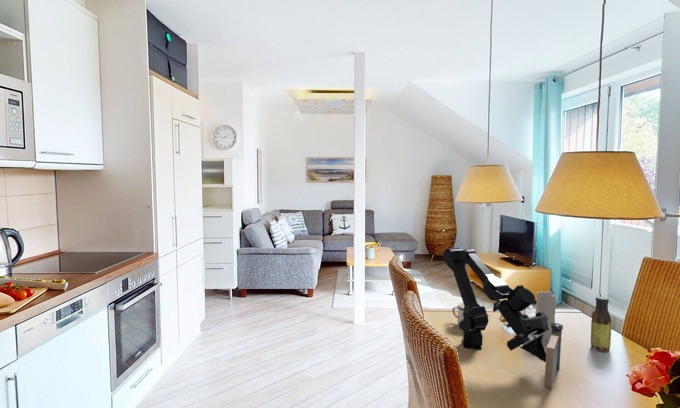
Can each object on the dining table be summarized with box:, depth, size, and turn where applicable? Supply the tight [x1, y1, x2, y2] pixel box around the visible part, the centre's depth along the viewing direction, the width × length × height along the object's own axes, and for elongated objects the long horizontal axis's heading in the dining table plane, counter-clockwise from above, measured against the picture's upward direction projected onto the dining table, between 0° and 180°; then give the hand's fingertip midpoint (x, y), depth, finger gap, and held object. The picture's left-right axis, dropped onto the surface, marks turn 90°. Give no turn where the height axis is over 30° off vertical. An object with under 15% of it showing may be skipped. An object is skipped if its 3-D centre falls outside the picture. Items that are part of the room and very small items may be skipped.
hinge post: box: [551, 322, 564, 371], centre depth 126 cm, size 4×4×15 cm
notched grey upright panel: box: [535, 290, 558, 342], centre depth 153 cm, size 7×14×20 cm, turn 124°
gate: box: [544, 333, 559, 389], centre depth 119 cm, size 14×2×12 cm, turn 144°
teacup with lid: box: [451, 302, 464, 327], centre depth 162 cm, size 12×9×12 cm
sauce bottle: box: [590, 296, 612, 353], centre depth 141 cm, size 6×6×20 cm
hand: (546, 361), depth 117 cm, fingers closed
